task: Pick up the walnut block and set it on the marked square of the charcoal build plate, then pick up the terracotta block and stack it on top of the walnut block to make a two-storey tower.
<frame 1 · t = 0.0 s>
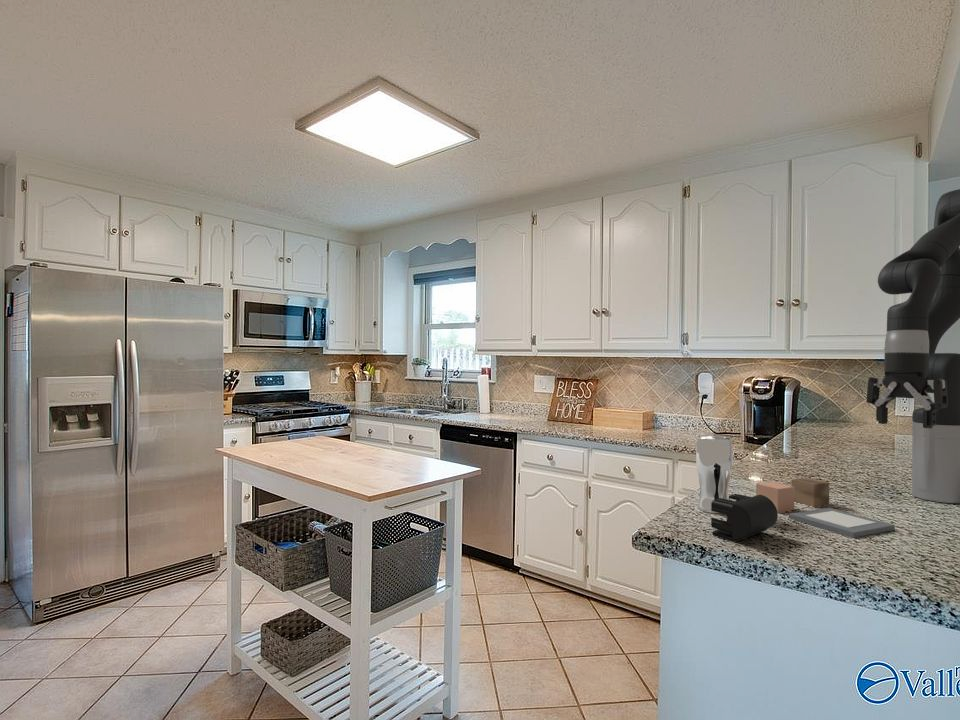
hand: (904, 425, 113), 17 cm above the countertop, tool pointing down, fingers open, 8 cm apart
walnut block: (810, 503, 113), on the countertop
terracotta block: (774, 509, 109), on the countertop
build plate: (840, 523, 98), on the countertop
end cap: (744, 537, 91), on the countertop
beer glass: (713, 510, 107), on the countertop
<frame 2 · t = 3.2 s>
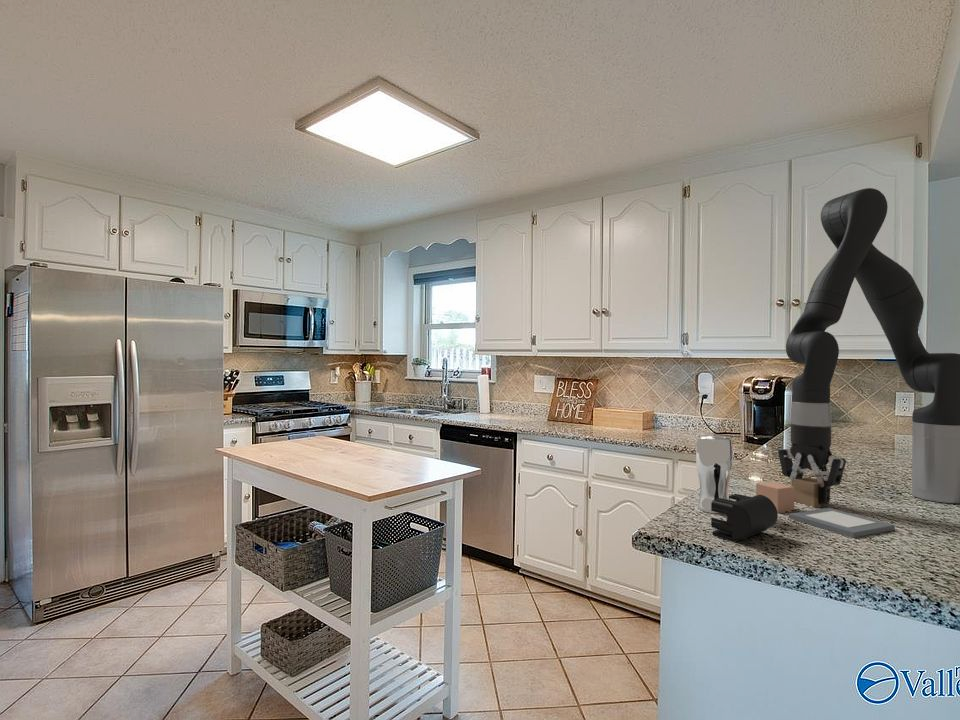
hand: (810, 500, 113), 1 cm above the countertop, tool pointing down, fingers closed on walnut block, 5 cm apart
walnut block: (810, 503, 113), on the countertop, touching gripper
everything else where it was.
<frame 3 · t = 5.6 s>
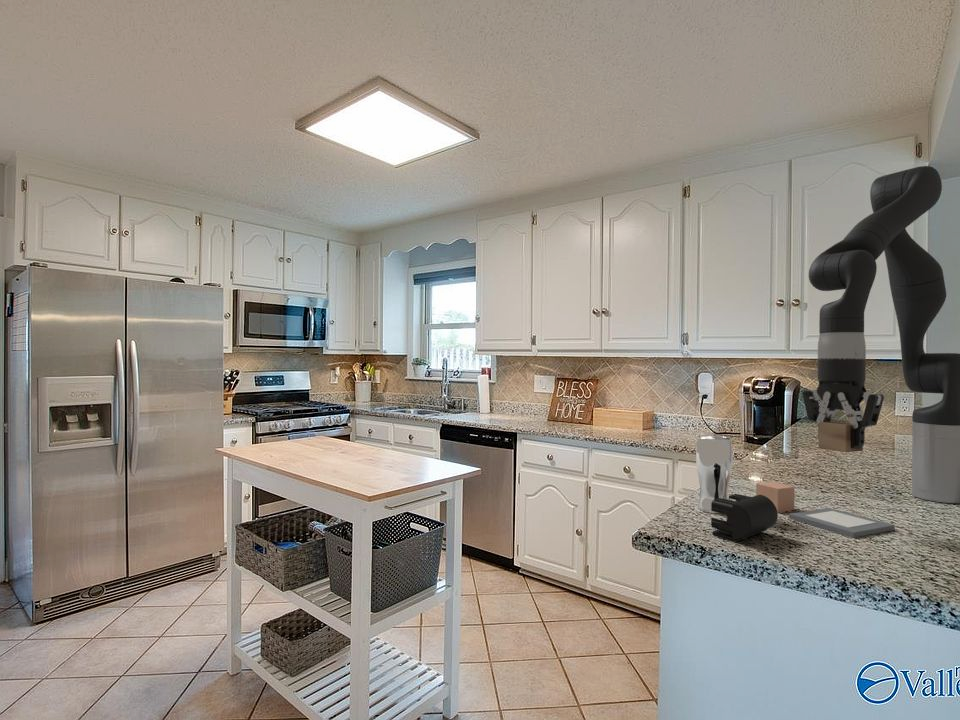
hand: (840, 445, 98), 15 cm above the countertop, tool pointing down, fingers closed on walnut block, 5 cm apart
walnut block: (840, 449, 98), point 14 cm above the countertop, touching gripper
everything else where it was.
when the fingers open (3 cm above the countertop, at t = 8.1 s): walnut block drops 1 cm, resting on build plate.
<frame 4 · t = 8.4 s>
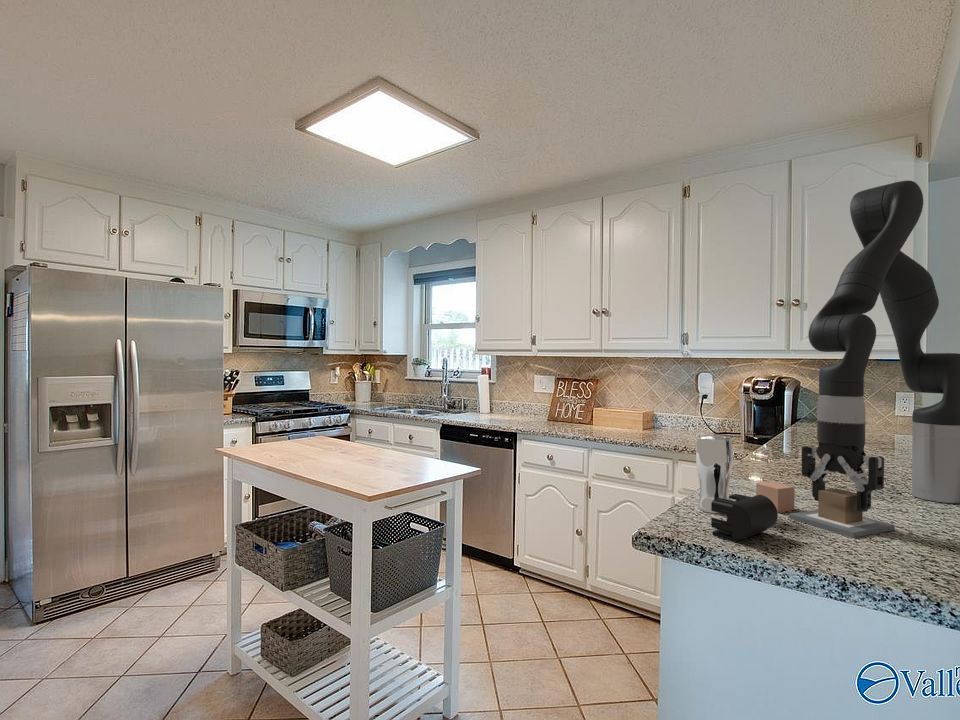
hand: (840, 505, 98), 3 cm above the countertop, tool pointing down, fingers open, 7 cm apart
walnut block: (840, 518, 98), point 1 cm above the countertop, touching build plate
everything else where it was.
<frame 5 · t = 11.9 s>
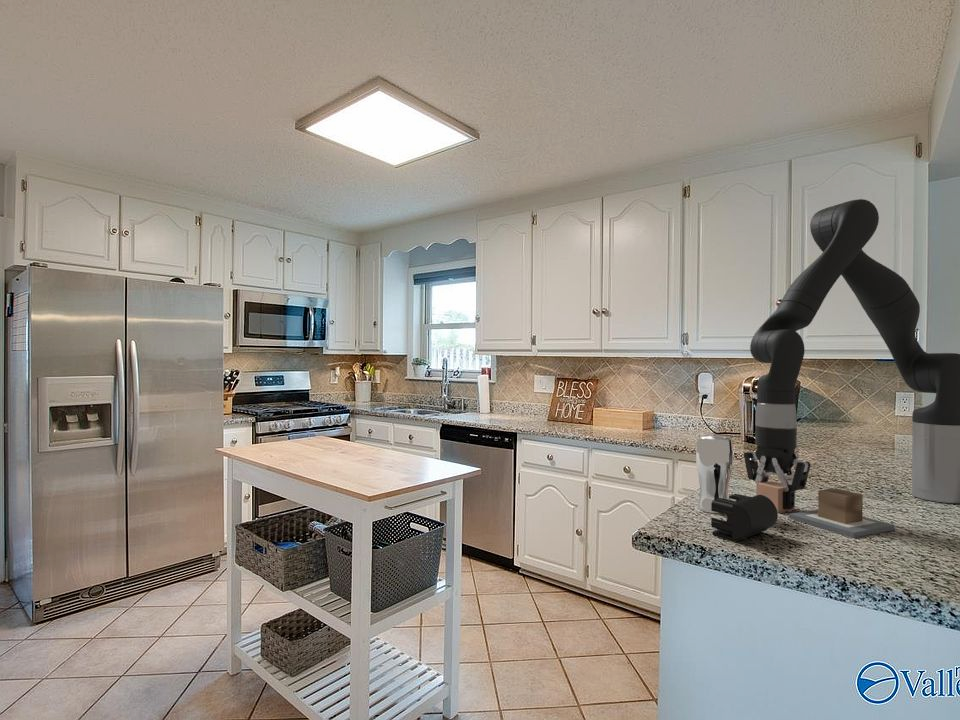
hand: (775, 505, 109), 1 cm above the countertop, tool pointing down, fingers closed on terracotta block, 5 cm apart
terracotta block: (775, 508, 109), on the countertop, touching gripper
everything else where it was.
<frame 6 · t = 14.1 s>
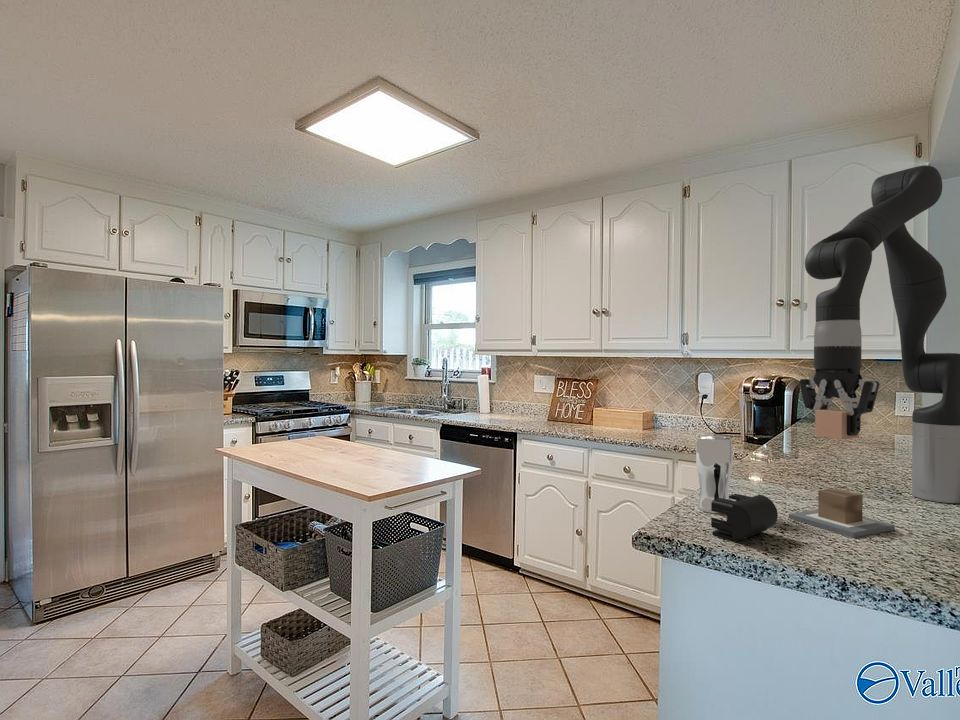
hand: (836, 433, 99), 17 cm above the countertop, tool pointing down, fingers closed on terracotta block, 5 cm apart
terracotta block: (836, 436, 99), point 17 cm above the countertop, touching gripper
everything else where it was.
when the fingers open (8 cm above the countertop, at t = 16.4 s): terracotta block drops 1 cm, resting on walnut block.
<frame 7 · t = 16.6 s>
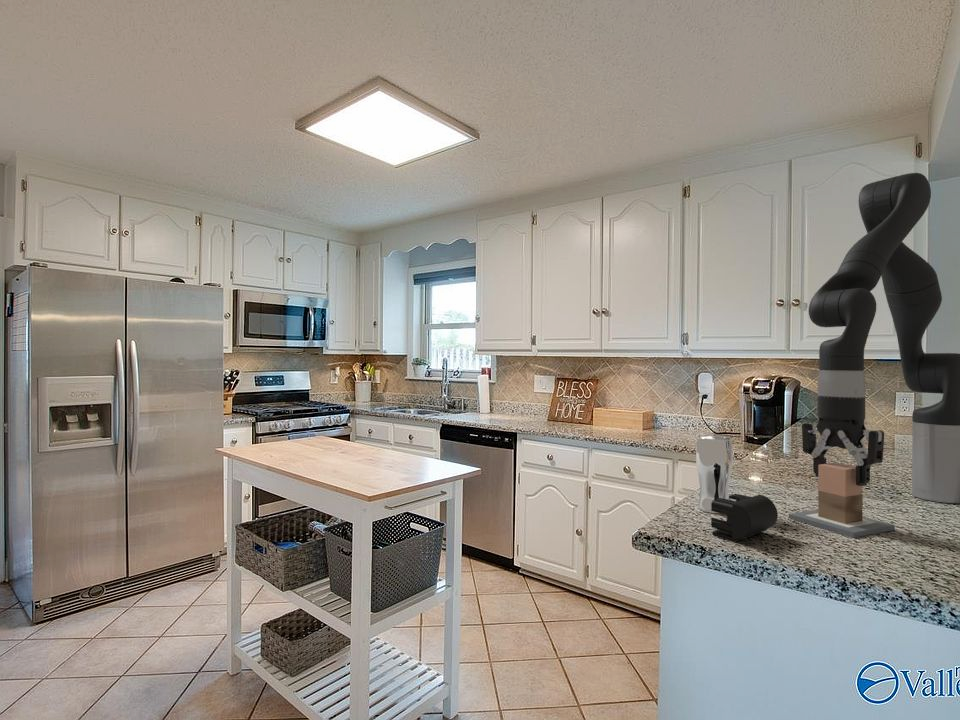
hand: (840, 480, 98), 8 cm above the countertop, tool pointing down, fingers open, 7 cm apart
walnut block: (840, 518, 98), point 1 cm above the countertop, touching build plate, terracotta block
terracotta block: (840, 492, 98), point 6 cm above the countertop, touching walnut block
everything else where it was.
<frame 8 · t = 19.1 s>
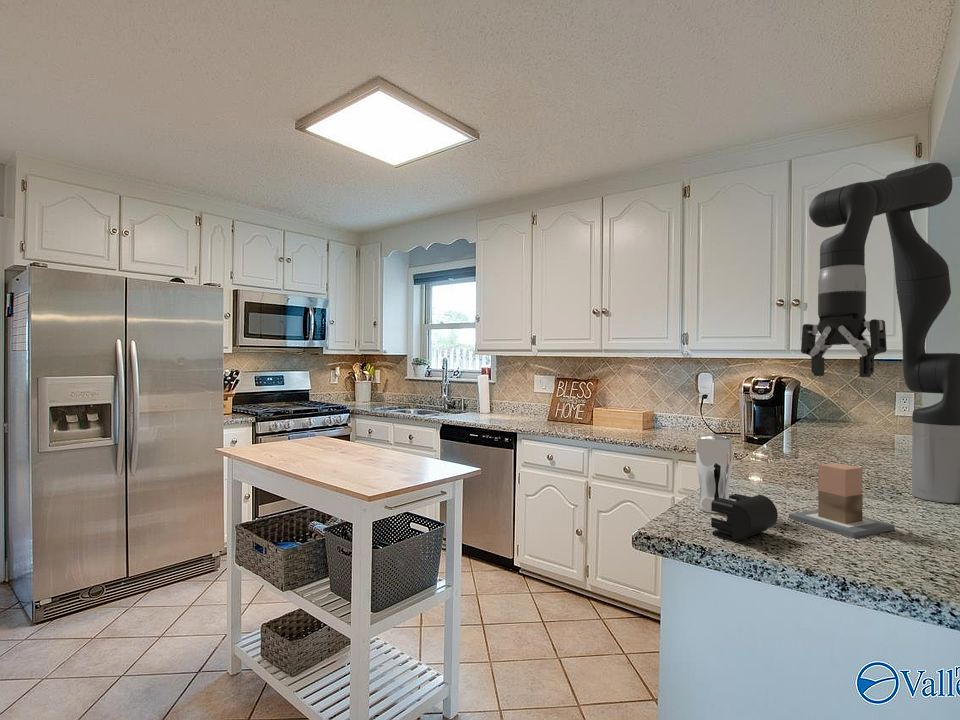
hand: (841, 376, 98), 28 cm above the countertop, tool pointing down, fingers open, 8 cm apart
nothing on the countertop moved.
at the end: walnut block inside the target area on the build plate (0.0 cm from its centre), point 1.0 cm above the build plate's base; terracotta block 0.1 cm off-centre on the walnut block, point 5.0 cm above the walnut block's base; terracotta block tilted 0° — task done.
